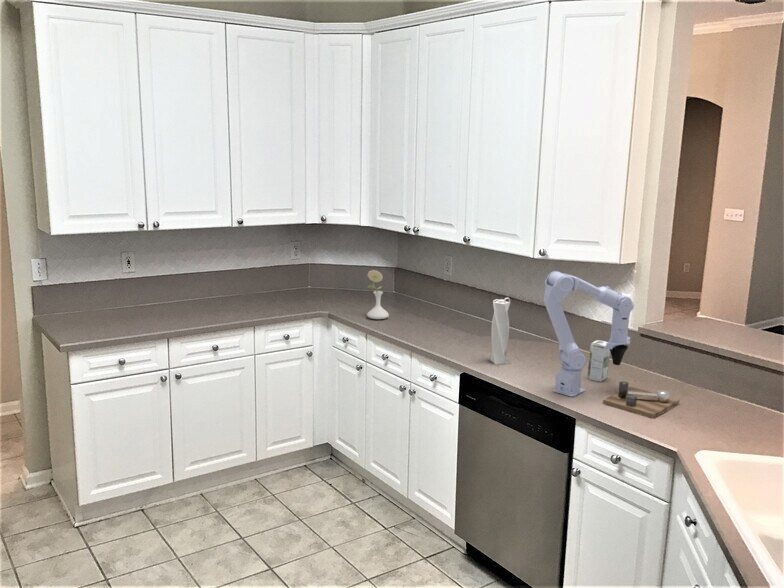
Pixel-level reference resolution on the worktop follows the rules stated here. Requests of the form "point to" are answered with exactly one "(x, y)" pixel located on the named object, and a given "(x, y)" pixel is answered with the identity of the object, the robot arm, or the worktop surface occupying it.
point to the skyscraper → (500, 331)
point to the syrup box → (598, 361)
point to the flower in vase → (377, 310)
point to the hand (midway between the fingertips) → (616, 364)
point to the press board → (640, 404)
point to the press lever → (660, 396)
